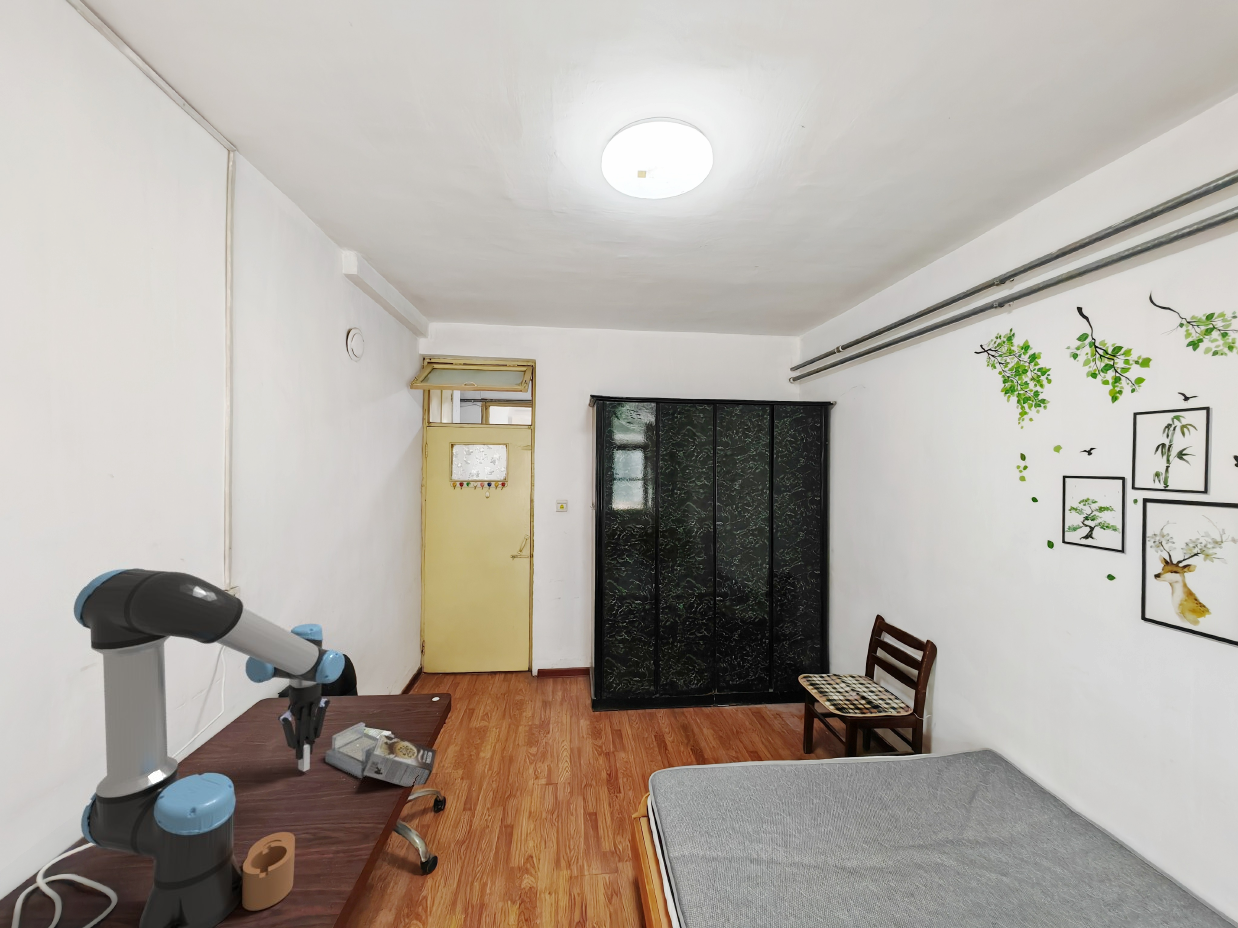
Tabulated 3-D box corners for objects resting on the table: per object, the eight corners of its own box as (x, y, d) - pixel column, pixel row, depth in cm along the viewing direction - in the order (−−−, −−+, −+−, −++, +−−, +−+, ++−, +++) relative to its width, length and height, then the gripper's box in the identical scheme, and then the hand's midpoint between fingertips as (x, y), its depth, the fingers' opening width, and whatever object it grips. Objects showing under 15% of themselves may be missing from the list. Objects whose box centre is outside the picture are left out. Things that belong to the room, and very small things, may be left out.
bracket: (292, 897, 98) (293, 862, 98) (239, 917, 94) (240, 880, 94) (295, 839, 113) (295, 808, 113) (249, 853, 109) (250, 821, 109)
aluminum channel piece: (361, 779, 135) (361, 753, 135) (325, 762, 142) (325, 737, 142) (399, 757, 145) (399, 733, 145) (364, 742, 153) (364, 719, 153)
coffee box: (381, 732, 138) (437, 748, 142) (370, 754, 138) (426, 769, 142) (373, 752, 129) (433, 769, 133) (362, 775, 129) (422, 792, 133)
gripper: (288, 694, 129) (286, 785, 129) (337, 676, 141) (335, 760, 141) (272, 688, 133) (270, 777, 133) (321, 671, 145) (319, 752, 144)
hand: (303, 768), depth 137 cm, fingers closed
